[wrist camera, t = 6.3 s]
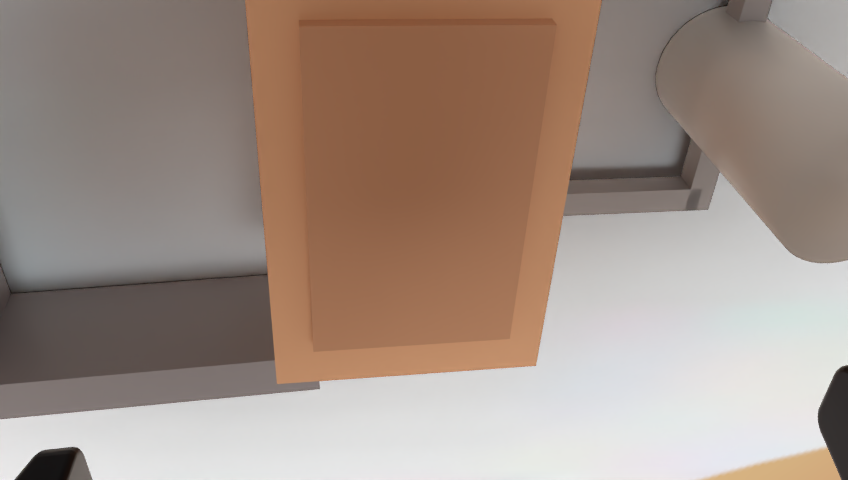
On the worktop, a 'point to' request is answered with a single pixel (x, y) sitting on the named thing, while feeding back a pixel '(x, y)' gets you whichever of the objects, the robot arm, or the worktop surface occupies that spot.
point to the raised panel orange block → (497, 166)
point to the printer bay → (136, 345)
